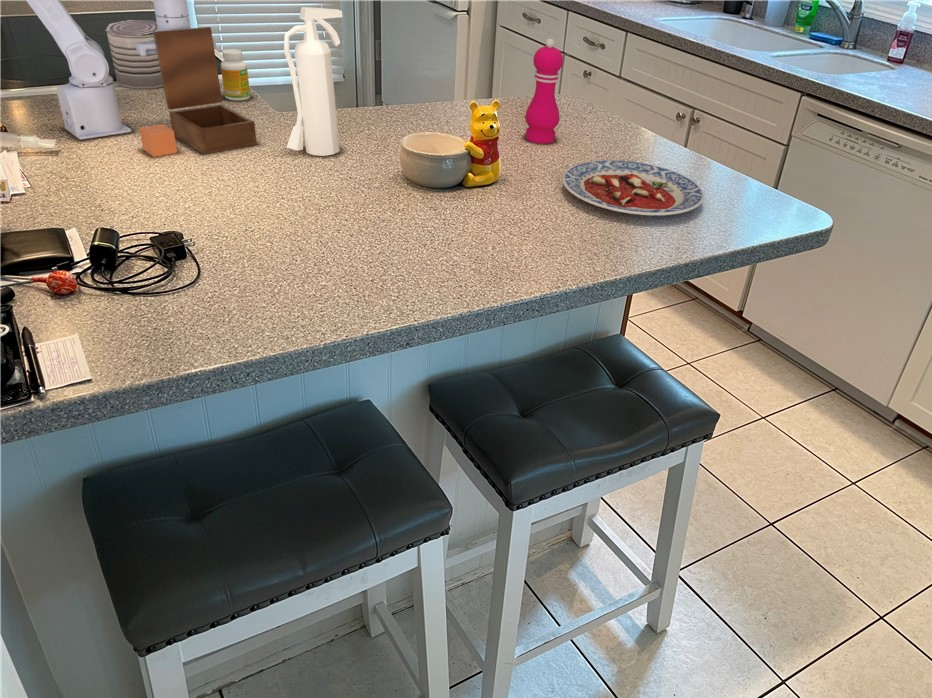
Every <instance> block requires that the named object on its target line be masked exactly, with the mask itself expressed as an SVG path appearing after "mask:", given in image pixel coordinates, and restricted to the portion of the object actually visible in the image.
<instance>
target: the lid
mask: <svg viewBox="0 0 932 698" xmlns="http://www.w3.org/2000/svg"><path fill="white" fill-rule="evenodd" d="M153 34H154V39H155V45H156V50H157V55H158V60H159V65H160V71H161V76H162V81H163V91H164V96H165V101H166V107H167V109H168V110H169V111H171V110H177V109H185V108H191V107H192V108H193V107H197V106H205V105H211V104H220V103H223V97H222V92H221V91H222V89H221V85H220V78H219V71H218V65H217V58H216V52H215V49H214V45H213V38H214V37H213V33H212V27H211V26H202V27H190V28H188V29H175V30H163V31H153ZM212 37H213V38H212Z"/></svg>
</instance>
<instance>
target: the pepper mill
mask: <svg viewBox="0 0 932 698" xmlns="http://www.w3.org/2000/svg"><path fill="white" fill-rule="evenodd" d="M554 46H555V40H554V38H547V39H546V41H545V46H541V47H539V48H538V49H537V50H536V51H535V53H534V55H533V66H534V68H535V69H536V70H535V71H534V77H533V79H534V80H535V90H534V93H533V97H532V99H531V101H530V103H529V105H528V106H527V109H526V111H525V115H524V116H525V117H524V121H525V123H526V125H527V126H528V127H527V128H526V131H525V139H526V140H527V141H529V142H532V143H534V144H535V143H536V144H544V145H545V144H551V143H553V142H555V140H556V130H555V129H556V128H557V126H558V125H559V123H560V111H559V107H558V104H557V100H556V84H557V82H559V80H560V79H559V77H560V73H559V71H560V70H561V69H562V68H563V65H564V56H563V54H562V52H561V50H559V49H558V48H557V47H554Z"/></svg>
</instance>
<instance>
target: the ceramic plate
mask: <svg viewBox="0 0 932 698" xmlns="http://www.w3.org/2000/svg"><path fill="white" fill-rule="evenodd" d="M561 179H562V184H563V186H564V187H565V189H566V190H567V191H568V192H569V193H570V194H571V195H574V196H575V197H576V198H578V199H580V200H582V201H584V202H586V203H589V204H592V205H594V206H595V207H599V208H603V209H607V210H610V211H614V212H619V213H624V214H631V215H640V216H670V215H671V216H672V215H679V214H683V213H687V212H690V211H692V210H694V209H696V208H698V207H700V205H701V204H703V202H704V199H705V193H704V191H703V189H702V188H701V187H700V186H699V185H698V183H696V182H695V181H693V180H692V179H690V178H688V177H687V176H685V175H683V174H681V173H678V172H676V171H674V170H670V169H667V168H665V167H661V166H657V165H654V164H649V163H644V162H637V161H629V160H627V161H626V160H617V159H616V160H615V159H614V160H612V159H607V160H604V159H603V160H592V161H586V162H582V163H579V164H578V163H577V164H576V165H573V166H571V167H569V168H568V169H566V171H564V172H563V174H562V177H561Z"/></svg>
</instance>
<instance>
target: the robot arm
mask: <svg viewBox="0 0 932 698" xmlns="http://www.w3.org/2000/svg"><path fill="white" fill-rule="evenodd" d="M25 1H26V2H27V4H28V6H29V7H30V8H31V10H32V11H33V12H34V13H35V15H36V16H37V17H38V19H39V20H40V21H41V23H42V25H44V27H45V28H46V30H47V31H48V33H49V34H50V35H51V36H52V38H53V39H54V41H55V43H56V44H57V46H58V48H59V49H60V51H61V52H62V54H63V55H64V57H65V58H66V59H67V64H68V69H69V72H70V73H71V76H69V77H68V81H69V82H68V83H66V84H61V85H58V86H57V88H56V94H57V100H58V104H59V107H60V112H61V115H62V119H63V123H64V130H66V131H68V133H70V134H71V135H73V136H74V137H75V138H77V139H78V140H88V139H94V138H101V137H107V136H114V135H121V134H128V133H131V132H132V129H131V128H130V127H128V126H127V125H125V124H124V123H123V121H122V116H121V111H120V107H119V101H118V97H117V92H116V87H115V83H114V77H113V76H111V75H109V74H110V65H109V63H108V60H107V59H106V58H105V57H106V56H105V51H104V49H103V48H102V47H101V46H100V44H98V42H96V41H95V40H93V39H91V38H90V37H89V36H88V35H87V34H86V33H85V32H84V30H83V29H82V28H81V26H80V25H79V24H78V23H77V22H76V21H75V19H74V18H73V17H72V15H71V14H70V12H69V11H68V10H67V8H66V7H65V6H64V4H63V3H62V2H61V0H25ZM152 3H153V10H154V15H155V22H157V28H158V31H163V30H175V29H188V28H191V22H190V15H189V8H188V1H187V0H152ZM212 38H213V45H214V50H216V49H217V42H216V38H215V37H213V36H212ZM135 45H136V50H137V54H139V55H141V56H147V55H148V54H157V50H156V45H155V40H150V41H145V42H138V43H135Z"/></svg>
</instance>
